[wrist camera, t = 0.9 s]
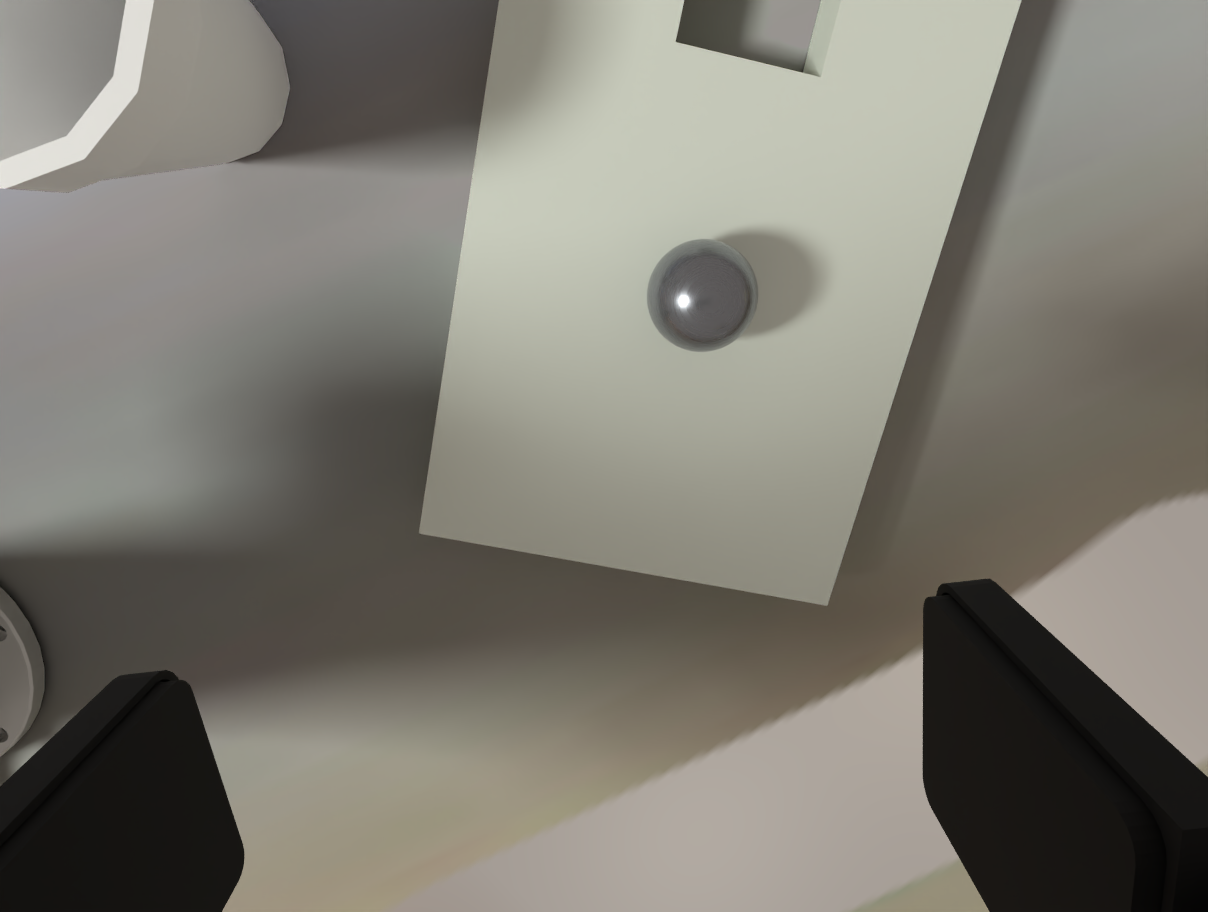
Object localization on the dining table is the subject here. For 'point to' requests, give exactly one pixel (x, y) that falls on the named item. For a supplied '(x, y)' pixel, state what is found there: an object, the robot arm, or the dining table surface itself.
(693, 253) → the steel ball
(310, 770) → the dining table surface
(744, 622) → the dining table surface
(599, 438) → the hole board
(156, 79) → the foam cup
